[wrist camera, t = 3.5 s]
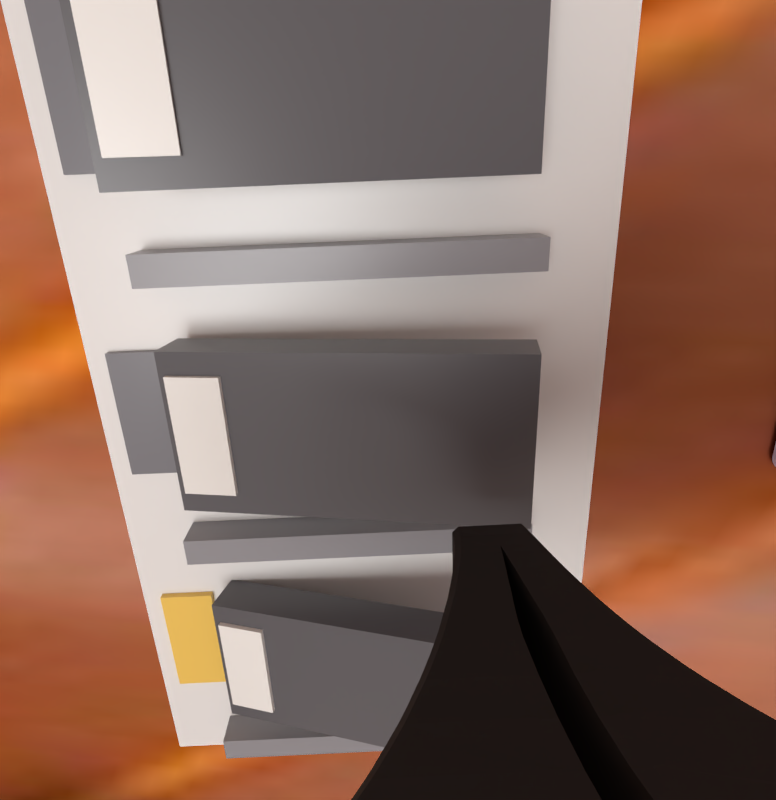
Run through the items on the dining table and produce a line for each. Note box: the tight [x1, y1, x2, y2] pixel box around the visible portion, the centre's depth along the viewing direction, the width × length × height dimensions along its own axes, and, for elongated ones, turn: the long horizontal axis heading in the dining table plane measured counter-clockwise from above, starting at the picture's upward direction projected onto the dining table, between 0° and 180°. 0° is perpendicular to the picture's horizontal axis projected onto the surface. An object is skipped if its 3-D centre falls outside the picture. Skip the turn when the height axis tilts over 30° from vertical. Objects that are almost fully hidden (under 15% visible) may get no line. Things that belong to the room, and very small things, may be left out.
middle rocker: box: [154, 338, 542, 529], centre depth 14 cm, size 9×4×1 cm, turn 92°
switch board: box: [1, 0, 642, 758], centre depth 17 cm, size 14×26×4 cm, turn 2°
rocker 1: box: [59, 0, 551, 193], centre depth 11 cm, size 9×4×1 cm, turn 92°
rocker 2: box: [212, 580, 444, 747], centre depth 17 cm, size 9×4×1 cm, turn 92°
